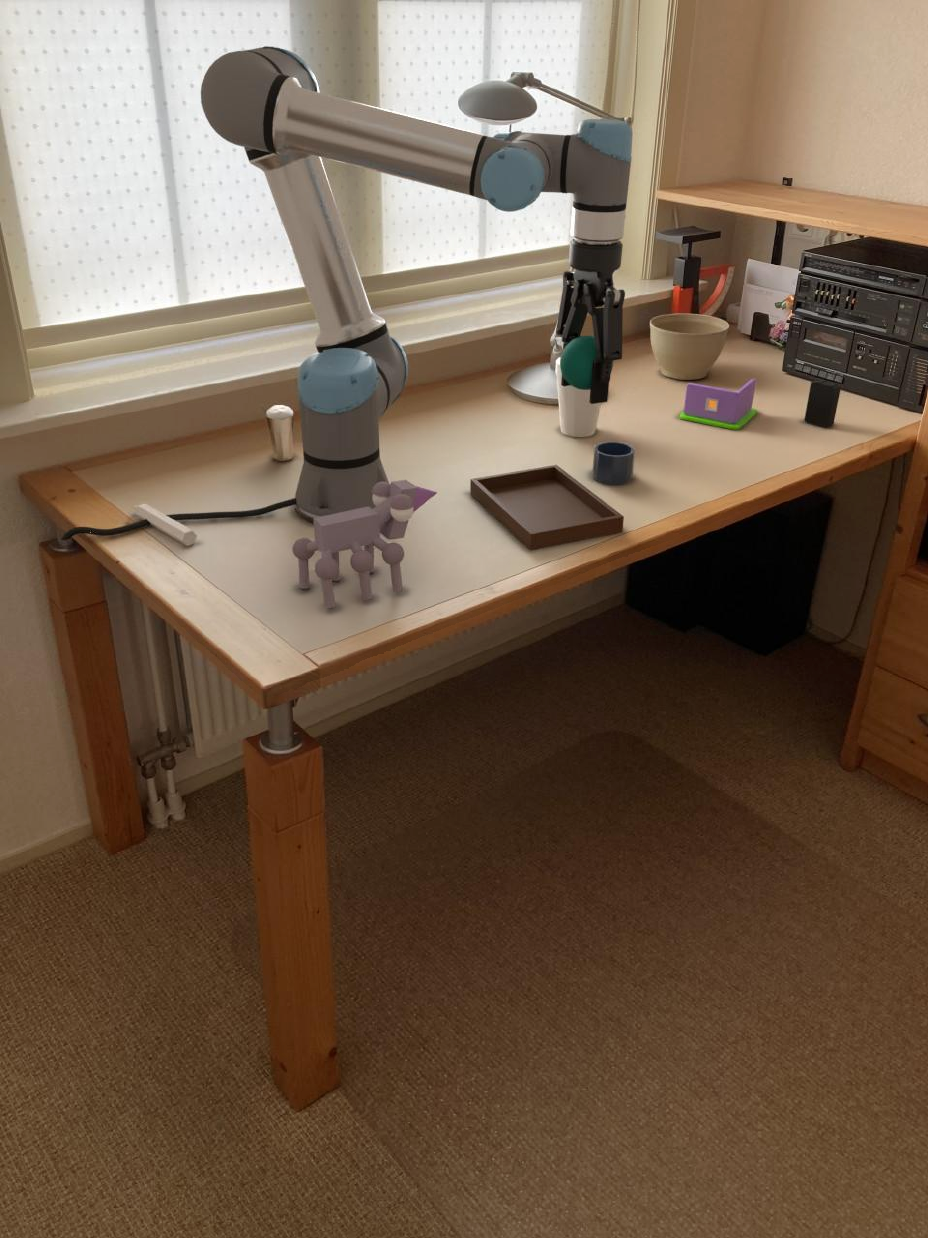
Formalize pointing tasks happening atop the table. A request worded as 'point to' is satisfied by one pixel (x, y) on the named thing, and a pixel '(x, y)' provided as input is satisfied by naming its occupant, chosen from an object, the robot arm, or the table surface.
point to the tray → (545, 506)
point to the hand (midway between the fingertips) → (583, 392)
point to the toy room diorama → (719, 405)
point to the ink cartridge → (822, 403)
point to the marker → (166, 524)
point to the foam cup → (575, 409)
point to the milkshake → (281, 431)
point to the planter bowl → (687, 343)
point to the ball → (579, 362)
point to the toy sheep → (361, 537)
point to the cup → (613, 463)
